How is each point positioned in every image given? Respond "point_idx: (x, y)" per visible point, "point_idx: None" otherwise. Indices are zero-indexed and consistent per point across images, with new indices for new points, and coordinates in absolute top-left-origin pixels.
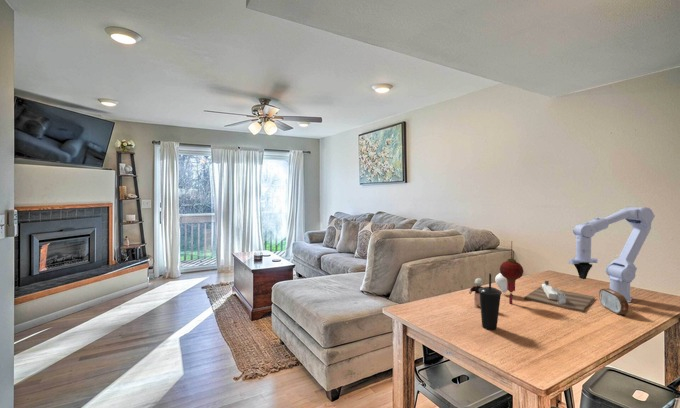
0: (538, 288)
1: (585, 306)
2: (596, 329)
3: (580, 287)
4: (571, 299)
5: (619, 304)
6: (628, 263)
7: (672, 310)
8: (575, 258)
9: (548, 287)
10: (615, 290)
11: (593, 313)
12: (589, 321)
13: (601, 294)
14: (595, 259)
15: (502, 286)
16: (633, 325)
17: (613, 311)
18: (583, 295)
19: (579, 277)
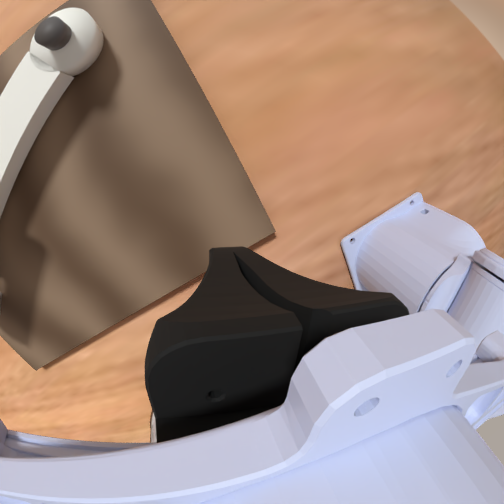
0: (64, 6)
1: (70, 348)
2: (16, 429)
3: (406, 51)
4: (73, 254)
5: (153, 438)
6: (493, 416)
7: None
8: (234, 487)
9: (10, 114)
10: (380, 287)
11: (71, 377)
12: (21, 406)
13: None
14: (477, 423)
15: None
16: (125, 440)
17: None
18: (228, 198)
19: (209, 252)
